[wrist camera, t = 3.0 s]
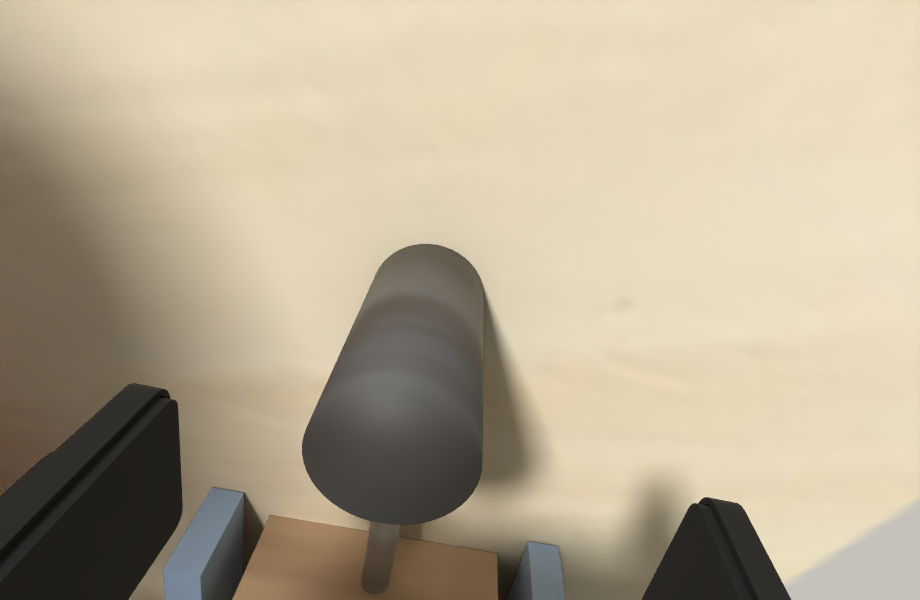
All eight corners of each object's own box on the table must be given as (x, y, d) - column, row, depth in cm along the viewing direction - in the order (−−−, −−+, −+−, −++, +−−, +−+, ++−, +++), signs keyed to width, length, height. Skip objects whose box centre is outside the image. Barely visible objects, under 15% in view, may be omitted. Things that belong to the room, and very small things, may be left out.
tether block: (459, 668, 25) (450, 883, 19) (264, 637, 25) (188, 846, 18) (588, 274, 16) (653, 433, 10) (282, 215, 15) (144, 341, 9)
